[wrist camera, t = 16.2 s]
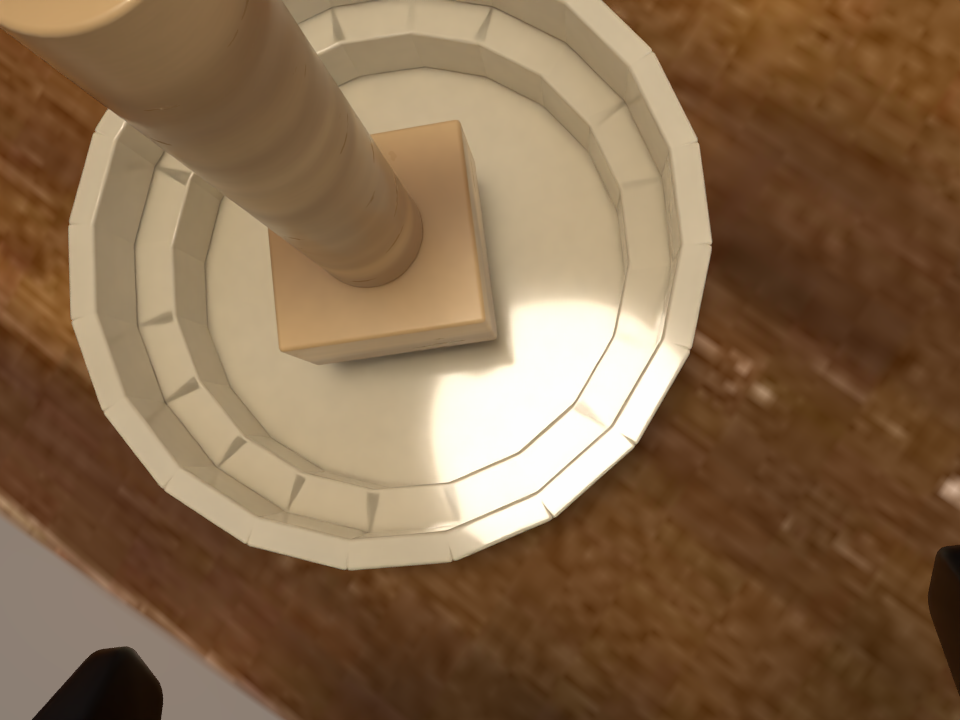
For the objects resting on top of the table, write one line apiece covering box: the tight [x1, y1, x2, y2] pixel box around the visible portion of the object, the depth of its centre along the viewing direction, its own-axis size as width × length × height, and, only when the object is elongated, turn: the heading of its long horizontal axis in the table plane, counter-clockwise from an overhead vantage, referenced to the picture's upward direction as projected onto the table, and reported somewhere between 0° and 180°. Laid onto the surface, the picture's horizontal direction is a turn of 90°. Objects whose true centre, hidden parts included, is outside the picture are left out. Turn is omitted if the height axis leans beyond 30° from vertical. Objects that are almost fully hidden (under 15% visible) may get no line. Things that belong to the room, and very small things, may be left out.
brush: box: [0, 0, 498, 365], centre depth 14 cm, size 4×4×14 cm
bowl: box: [68, 0, 712, 571], centre depth 19 cm, size 13×13×4 cm
